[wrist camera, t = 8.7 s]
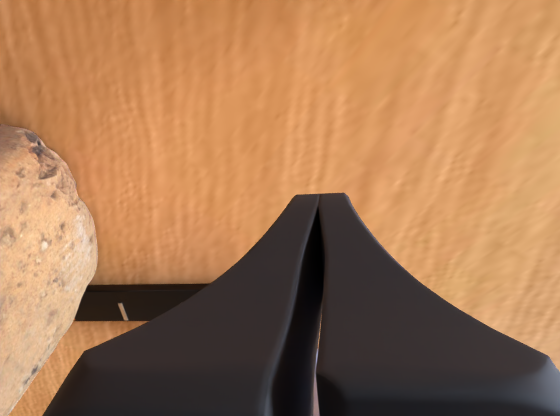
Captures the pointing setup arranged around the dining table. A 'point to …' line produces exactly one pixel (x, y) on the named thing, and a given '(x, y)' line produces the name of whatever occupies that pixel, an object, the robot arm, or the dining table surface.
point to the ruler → (132, 301)
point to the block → (38, 257)
